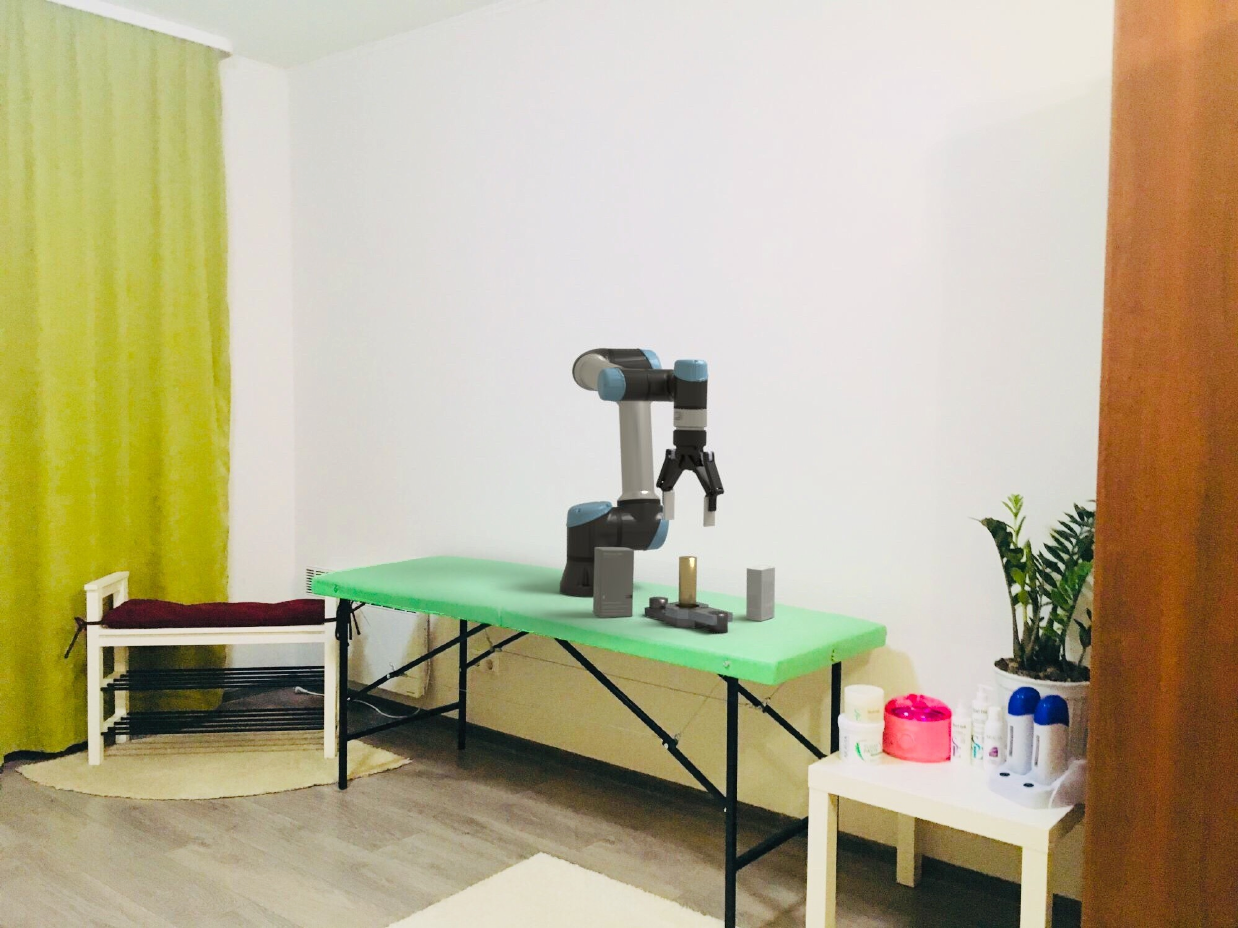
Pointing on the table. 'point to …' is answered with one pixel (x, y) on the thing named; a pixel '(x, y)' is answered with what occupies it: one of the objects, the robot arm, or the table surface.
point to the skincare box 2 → (760, 593)
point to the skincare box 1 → (613, 582)
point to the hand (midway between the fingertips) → (688, 523)
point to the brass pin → (687, 581)
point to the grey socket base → (689, 615)
